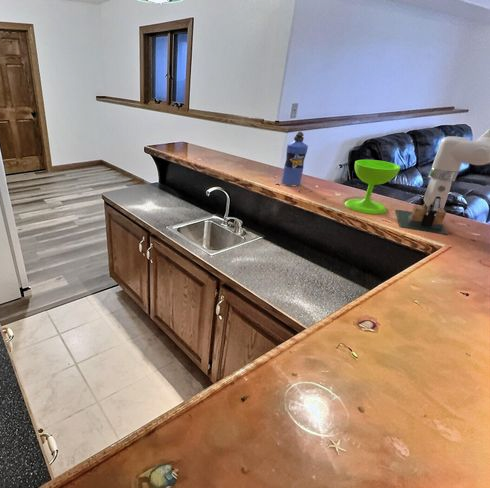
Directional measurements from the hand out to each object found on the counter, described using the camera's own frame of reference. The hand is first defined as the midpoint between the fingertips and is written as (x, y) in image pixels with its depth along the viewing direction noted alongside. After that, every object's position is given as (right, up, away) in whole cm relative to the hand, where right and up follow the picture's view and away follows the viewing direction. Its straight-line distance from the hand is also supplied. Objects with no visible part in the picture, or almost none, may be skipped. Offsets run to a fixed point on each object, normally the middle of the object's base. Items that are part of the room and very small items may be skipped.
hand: (424, 222), depth 128 cm
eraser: (0, -1, 0) cm, 1 cm away
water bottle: (-32, +22, +48) cm, 62 cm away
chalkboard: (0, 0, +3) cm, 4 cm away
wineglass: (-11, +7, +19) cm, 23 cm away
